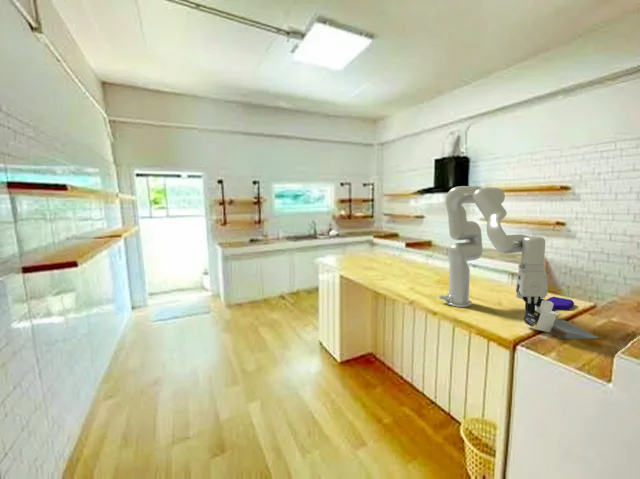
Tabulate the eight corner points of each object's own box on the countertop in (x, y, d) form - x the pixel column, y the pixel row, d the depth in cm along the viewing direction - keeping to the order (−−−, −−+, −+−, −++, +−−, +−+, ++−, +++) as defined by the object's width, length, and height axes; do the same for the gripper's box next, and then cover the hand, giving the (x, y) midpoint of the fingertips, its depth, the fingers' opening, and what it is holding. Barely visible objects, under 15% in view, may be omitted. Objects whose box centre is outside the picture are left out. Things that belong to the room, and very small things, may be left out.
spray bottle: (550, 295, 162) (533, 307, 147) (576, 300, 154) (561, 313, 139) (549, 301, 162) (532, 313, 147) (576, 306, 154) (561, 319, 139)
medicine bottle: (521, 322, 130) (530, 295, 129) (537, 325, 130) (546, 298, 129) (535, 329, 123) (544, 300, 121) (550, 333, 123) (560, 304, 122)
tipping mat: (562, 339, 118) (562, 332, 117) (531, 321, 136) (531, 315, 135) (599, 338, 117) (600, 332, 117) (563, 320, 135) (564, 315, 135)
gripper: (518, 269, 120) (516, 315, 122) (558, 269, 120) (555, 315, 122) (507, 266, 128) (505, 309, 130) (545, 265, 127) (542, 308, 129)
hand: (529, 312), depth 126 cm, fingers closed
